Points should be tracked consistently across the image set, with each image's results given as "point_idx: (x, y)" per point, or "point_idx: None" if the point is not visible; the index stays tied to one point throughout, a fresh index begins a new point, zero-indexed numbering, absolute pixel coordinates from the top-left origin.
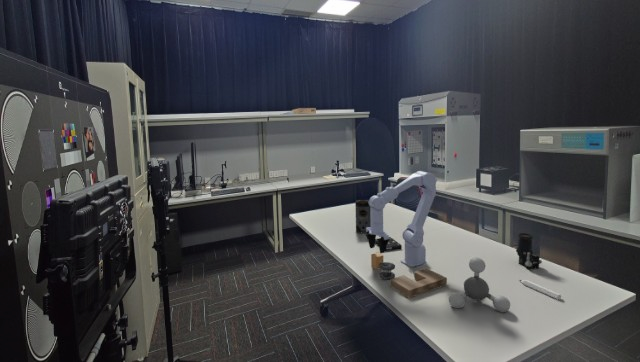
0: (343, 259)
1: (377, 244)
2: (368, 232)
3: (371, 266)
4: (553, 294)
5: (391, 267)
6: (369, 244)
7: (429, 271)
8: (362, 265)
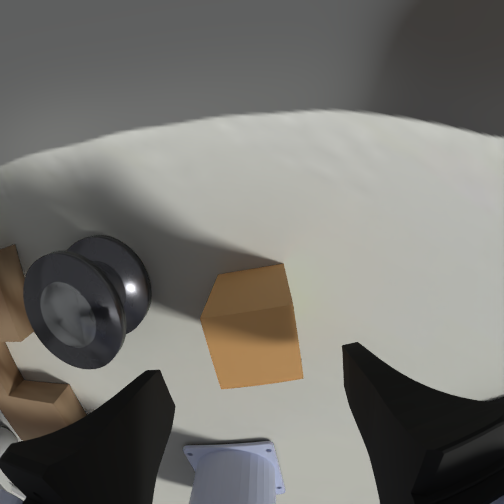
0: (467, 132)
1: (499, 401)
2: (487, 484)
3: (282, 264)
4: (15, 491)
5: (37, 324)
6: (371, 360)
7: None
8: (329, 207)
